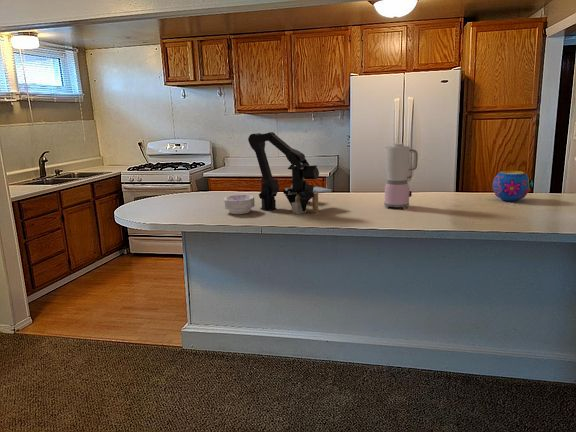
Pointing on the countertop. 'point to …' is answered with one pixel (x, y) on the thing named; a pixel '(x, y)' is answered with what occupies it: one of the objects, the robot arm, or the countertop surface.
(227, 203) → the paper bowls
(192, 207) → the countertop surface
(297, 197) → the frame
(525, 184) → the ceramic pot
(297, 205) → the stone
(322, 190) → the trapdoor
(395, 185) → the blender
